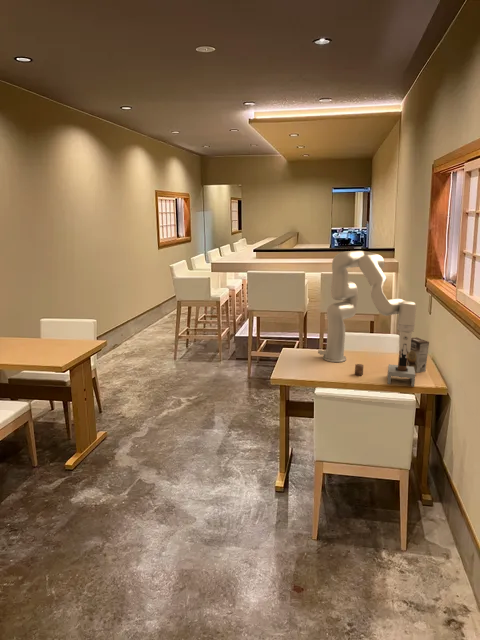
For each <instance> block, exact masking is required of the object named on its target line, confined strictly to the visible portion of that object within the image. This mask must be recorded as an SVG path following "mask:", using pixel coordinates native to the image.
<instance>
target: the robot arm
mask: <svg viewBox="0 0 480 640" xmlns="http://www.w3.org/2000/svg"><path fill="white" fill-rule="evenodd" d="M351 268H359V269H360V271H361V272H362V274H363V276H364V277H365V279H366V280H367V282H368V285H369V286H370V296H371V300H372V303H373V305H374V306H375V308H376V309H377V311H378V312H379V314H381V315H382V316H384V317H386V316H394V315H398V317H397V318H398V319H397V321H398V322H397V329H396V330H397V331H399V340H398V348H399V349H398V350H400V352H401V357H400V361H399V365H400V366H406V363H407V351H408V352H409V353H410V349H411V338H412V333H413V332H415V325H416V324H415V323H416V316H417V315H416V313H417V304H416V303H415V302H414V301H410V300H404V299H402V298H389V299H388V298H387V296H386V295H385V293H384V289H383V286H384V285H385V283H386V282H387V281H388V279H387V276H386V274H385V273H384V272H383V269H384V268H385V260H384V257H383V256H382V255H380V254H378V253H373V252H369V251H364V250H350V251H349V250H348V251H342V252H339V253H337V254H336V255H335V256H334V257H333V259H332V263H331V271H332V275H331V286H330V287H331V288H330V296H331V298H332V299H333V300H335V301H337V302H333V303H330V304H329V306H328V307H327V309H326V316H327V336H326V348H325V349H324V350H322V349H318V350H317V354H319V355H322V359H323V360H324V361H327V362H330V363H331V362H332V363H342V362H345V361H347V357H346V356H345V342H346V341H345V340H346V324H345V321H344V320H346V319H350V318H351V319H352V318H353V317H354V316H355V315H356V314H357V310H358V299H359V289H358V286H357V284H356V283H355V282H353V281H349V271H348V269H351ZM402 350H403V351H402Z"/></svg>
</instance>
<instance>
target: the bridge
mask: <svg viewBox="0 0 480 640" xmlns="http://www.w3.org/2000/svg"><path fill="white" fill-rule="evenodd" d="M387 367H388V368H387V385H391V384H392V383H391V381H392V377H396V378H401V377H404V378H406V379H409V380H410V386H411V387H415V383H416V382H415V381H416V372H415V370H414V367H410V366H407V368H406V372H405V371H398V364H389V363H388V366H387ZM404 378H403V379H404Z"/></svg>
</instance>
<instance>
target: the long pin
mask: <svg viewBox="0 0 480 640" xmlns="http://www.w3.org/2000/svg"><path fill="white" fill-rule="evenodd" d="M398 351H399V352H398V361H397V365H398V371H405V372H406V368H407V363H406V366H400V365H399V361H400V357H401V352H400V349H398ZM402 351H403V350H402ZM407 358H408V351H407ZM400 378H403V379H404V377H400Z"/></svg>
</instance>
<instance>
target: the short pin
mask: <svg viewBox="0 0 480 640" xmlns="http://www.w3.org/2000/svg"><path fill="white" fill-rule="evenodd" d="M354 368H355V369H354V376H356V377H362V375H363V376H364V364H362V363H356V364H355V366H354Z"/></svg>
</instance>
